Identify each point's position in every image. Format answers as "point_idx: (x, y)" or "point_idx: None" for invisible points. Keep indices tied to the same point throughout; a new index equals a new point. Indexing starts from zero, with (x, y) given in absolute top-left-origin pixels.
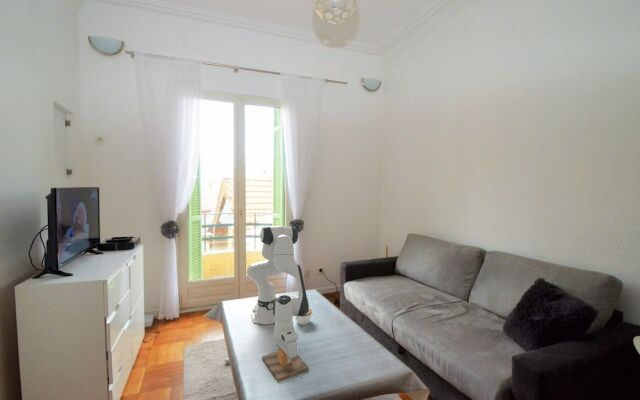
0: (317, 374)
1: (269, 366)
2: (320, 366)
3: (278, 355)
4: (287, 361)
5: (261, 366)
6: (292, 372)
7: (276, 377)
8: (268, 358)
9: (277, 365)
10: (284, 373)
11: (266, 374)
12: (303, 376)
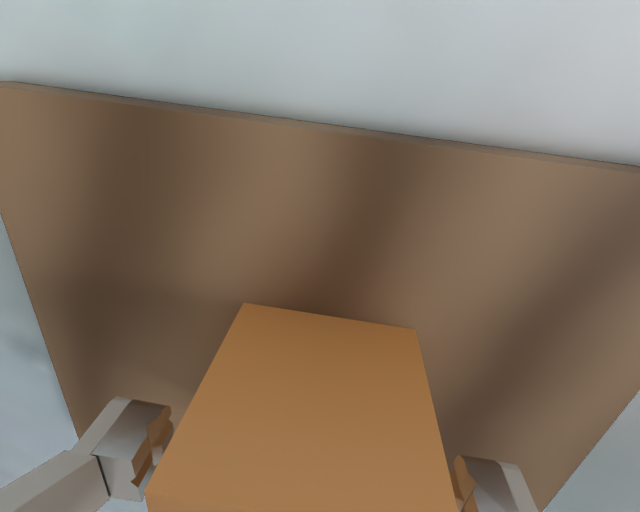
0: (30, 443)
1: (368, 146)
2: (121, 500)
3: (373, 417)
4: (101, 417)
5: (560, 53)
6: (54, 327)
7: (3, 86)
8: (594, 256)
9: (300, 267)
10: (66, 244)
11: (277, 14)
12: (37, 365)
